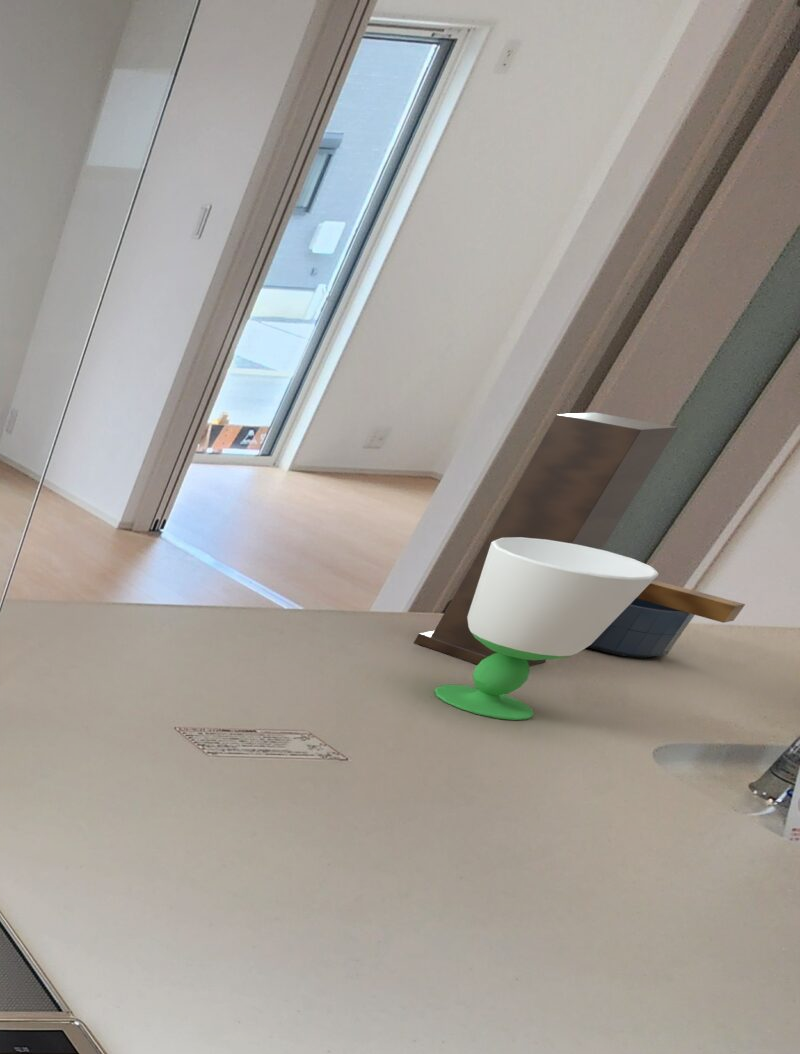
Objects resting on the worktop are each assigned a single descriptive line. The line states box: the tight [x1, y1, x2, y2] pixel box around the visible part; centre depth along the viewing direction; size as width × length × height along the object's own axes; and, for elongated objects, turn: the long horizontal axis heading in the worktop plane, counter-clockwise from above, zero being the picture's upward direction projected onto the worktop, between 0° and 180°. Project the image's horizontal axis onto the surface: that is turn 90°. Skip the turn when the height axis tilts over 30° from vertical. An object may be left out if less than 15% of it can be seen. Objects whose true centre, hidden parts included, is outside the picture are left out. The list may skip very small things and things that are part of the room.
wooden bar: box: [637, 579, 746, 623], centre depth 135 cm, size 18×2×2 cm, turn 25°
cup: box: [434, 537, 659, 721], centre depth 115 cm, size 14×14×16 cm
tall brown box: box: [413, 411, 679, 667], centre depth 126 cm, size 10×10×26 cm
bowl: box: [587, 598, 695, 659], centre depth 138 cm, size 11×11×6 cm
